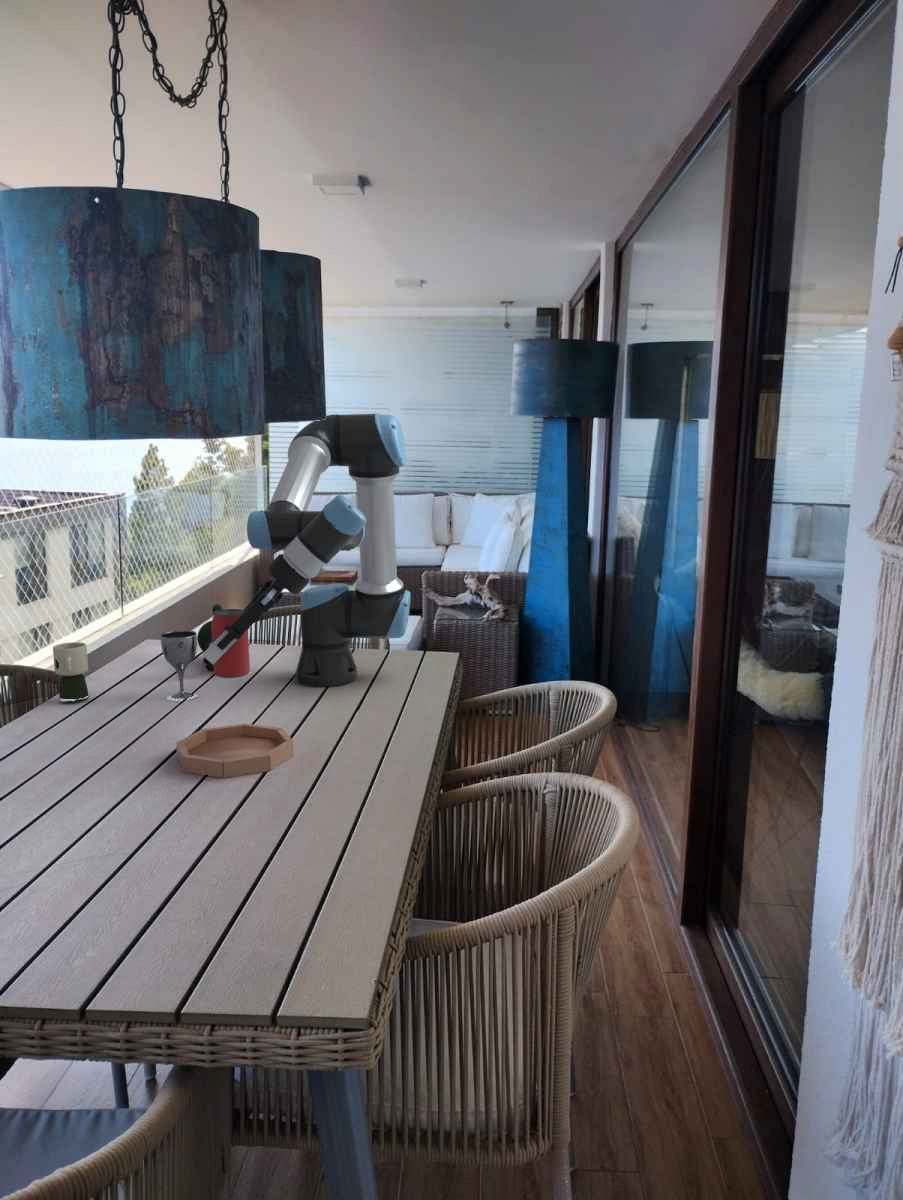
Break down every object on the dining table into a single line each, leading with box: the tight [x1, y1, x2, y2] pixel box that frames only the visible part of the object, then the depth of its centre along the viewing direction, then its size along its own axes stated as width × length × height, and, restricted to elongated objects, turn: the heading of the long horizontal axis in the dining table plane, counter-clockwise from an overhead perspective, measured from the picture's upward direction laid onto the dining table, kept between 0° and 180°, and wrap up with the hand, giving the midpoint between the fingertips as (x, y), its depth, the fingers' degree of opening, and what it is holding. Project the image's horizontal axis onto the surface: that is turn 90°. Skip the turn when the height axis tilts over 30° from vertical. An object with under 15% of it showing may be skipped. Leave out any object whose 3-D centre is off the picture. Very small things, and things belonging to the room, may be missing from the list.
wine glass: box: [160, 629, 198, 699], centre depth 219 cm, size 8×8×15 cm
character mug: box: [52, 641, 89, 699], centre depth 216 cm, size 11×7×13 cm, turn 15°
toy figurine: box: [197, 603, 223, 672], centre depth 246 cm, size 9×19×25 cm
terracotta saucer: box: [175, 723, 294, 779], centre depth 181 cm, size 20×20×3 cm
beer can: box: [211, 608, 251, 679], centre depth 177 cm, size 7×7×12 cm
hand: (211, 654), depth 177 cm, fingers closed on beer can, 6 cm apart
